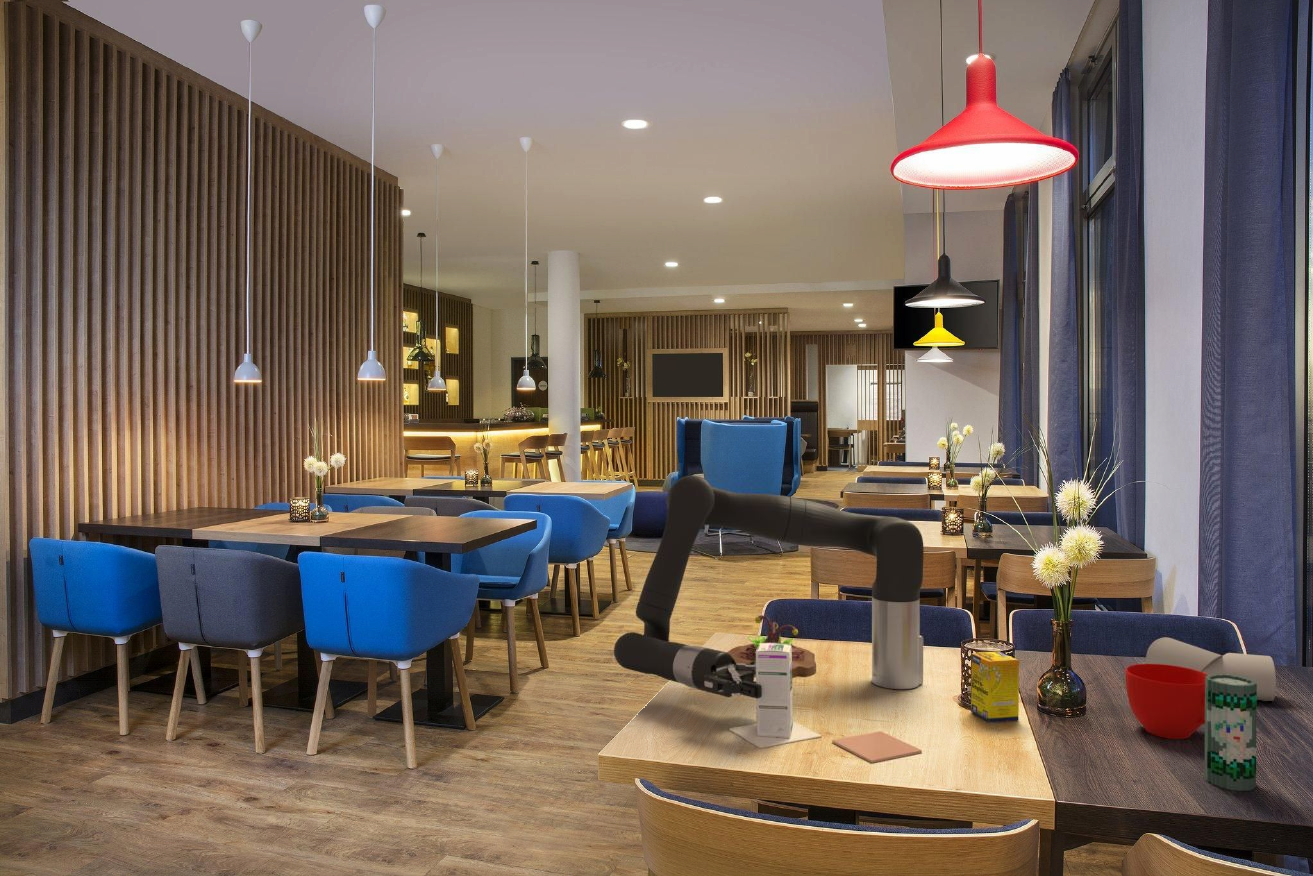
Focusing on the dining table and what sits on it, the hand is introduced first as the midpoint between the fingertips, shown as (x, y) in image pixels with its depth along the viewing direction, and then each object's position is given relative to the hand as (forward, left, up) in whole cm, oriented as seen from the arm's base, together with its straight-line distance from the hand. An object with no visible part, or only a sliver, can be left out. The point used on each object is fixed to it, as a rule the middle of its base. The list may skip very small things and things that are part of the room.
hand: (776, 686), depth 154 cm
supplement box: (-40, +10, -8) cm, 42 cm away
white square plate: (0, 0, -8) cm, 8 cm away
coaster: (-11, +13, -8) cm, 19 cm away
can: (-48, +47, -8) cm, 67 cm away
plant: (-23, -37, -9) cm, 45 cm away
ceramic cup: (-60, +31, -8) cm, 68 cm away
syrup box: (0, 0, -8) cm, 8 cm away
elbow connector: (-90, +16, -8) cm, 92 cm away
